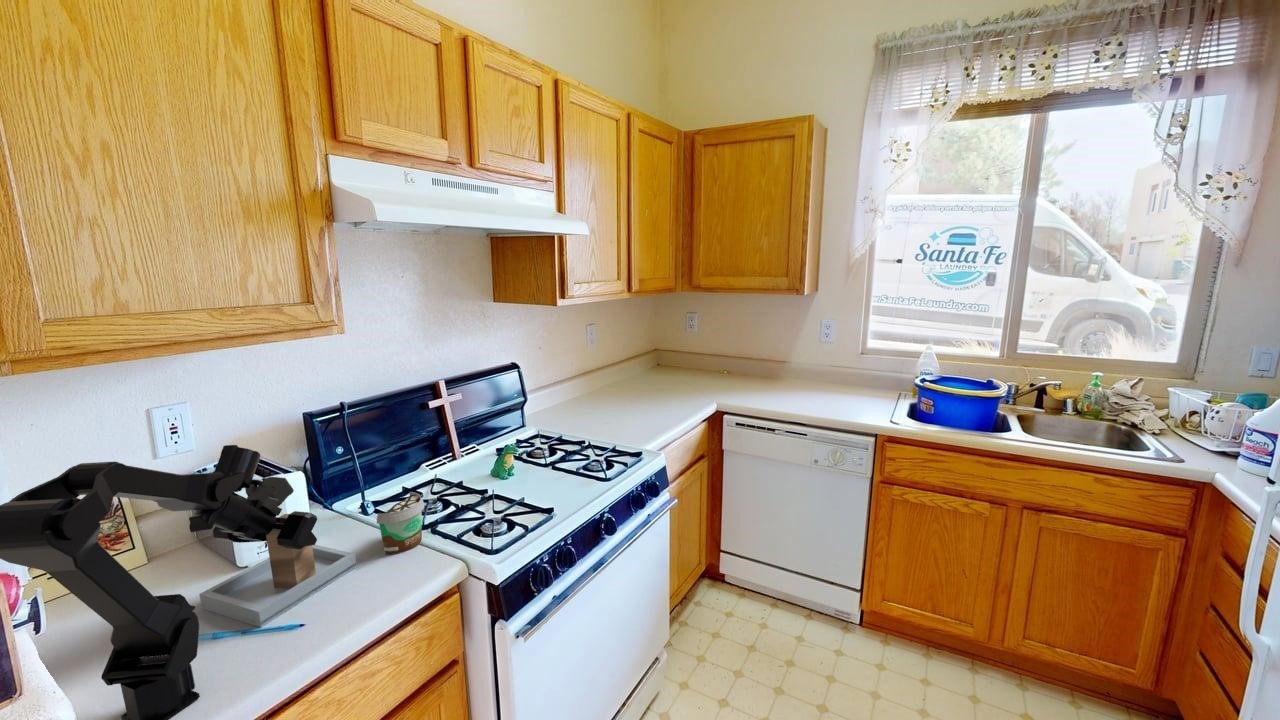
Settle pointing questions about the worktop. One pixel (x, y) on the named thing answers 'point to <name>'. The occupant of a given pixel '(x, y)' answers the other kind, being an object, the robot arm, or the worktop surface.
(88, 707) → the worktop surface
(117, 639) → the robot arm
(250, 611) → the tray
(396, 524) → the food container
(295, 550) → the block
